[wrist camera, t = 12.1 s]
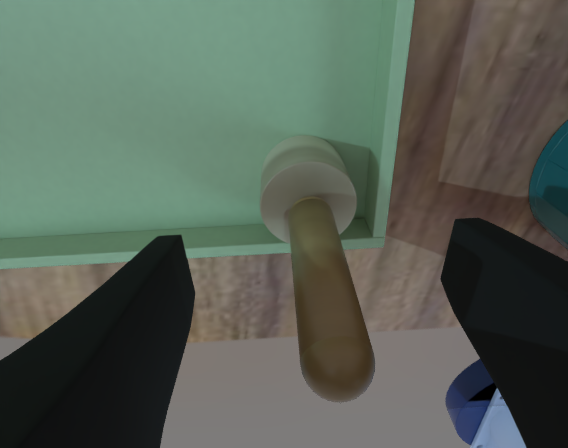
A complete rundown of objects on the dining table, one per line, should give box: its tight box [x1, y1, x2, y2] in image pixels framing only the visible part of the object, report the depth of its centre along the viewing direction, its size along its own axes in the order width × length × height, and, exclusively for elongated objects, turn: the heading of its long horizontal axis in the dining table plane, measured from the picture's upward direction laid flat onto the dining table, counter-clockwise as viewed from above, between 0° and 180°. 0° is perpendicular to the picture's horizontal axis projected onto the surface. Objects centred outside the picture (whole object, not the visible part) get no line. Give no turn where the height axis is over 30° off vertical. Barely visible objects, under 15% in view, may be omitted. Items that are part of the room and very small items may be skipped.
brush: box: [260, 135, 375, 402], centre depth 10 cm, size 3×3×9 cm
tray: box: [0, 0, 415, 269], centre depth 11 cm, size 13×25×2 cm, turn 93°
